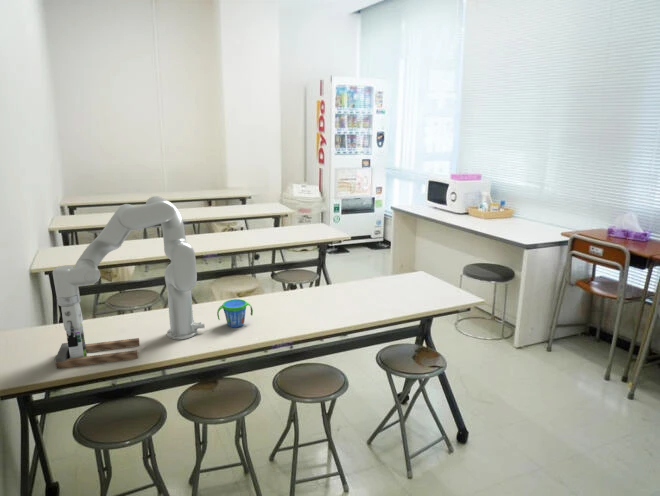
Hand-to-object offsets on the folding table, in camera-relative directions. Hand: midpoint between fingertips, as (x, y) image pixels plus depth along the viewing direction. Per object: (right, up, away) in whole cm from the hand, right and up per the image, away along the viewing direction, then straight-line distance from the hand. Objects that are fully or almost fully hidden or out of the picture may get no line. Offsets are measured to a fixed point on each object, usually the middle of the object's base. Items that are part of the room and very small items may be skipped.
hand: (75, 340), depth 186 cm
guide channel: (+7, -6, +4) cm, 11 cm away
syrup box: (0, -7, +2) cm, 7 cm away
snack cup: (+54, +1, +33) cm, 64 cm away
